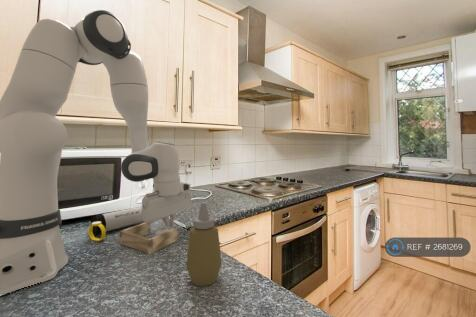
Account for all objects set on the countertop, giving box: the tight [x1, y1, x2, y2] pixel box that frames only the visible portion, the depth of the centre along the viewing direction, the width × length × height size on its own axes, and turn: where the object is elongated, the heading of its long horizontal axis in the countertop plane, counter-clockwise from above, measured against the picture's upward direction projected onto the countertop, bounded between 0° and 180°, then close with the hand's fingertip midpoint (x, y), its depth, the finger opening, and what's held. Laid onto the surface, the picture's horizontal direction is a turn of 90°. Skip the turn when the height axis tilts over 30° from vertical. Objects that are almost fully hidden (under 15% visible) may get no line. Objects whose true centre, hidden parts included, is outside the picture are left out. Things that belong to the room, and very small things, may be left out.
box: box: [119, 222, 179, 255], centre depth 75 cm, size 11×14×4 cm
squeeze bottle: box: [186, 202, 222, 287], centre depth 54 cm, size 8×8×18 cm
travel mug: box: [90, 205, 144, 236], centre depth 87 cm, size 6×7×20 cm
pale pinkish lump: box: [154, 226, 170, 237], centre depth 79 cm, size 5×3×5 cm
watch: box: [87, 221, 107, 242], centre depth 76 cm, size 6×3×6 cm, turn 73°
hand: (169, 227), depth 82 cm, fingers closed
